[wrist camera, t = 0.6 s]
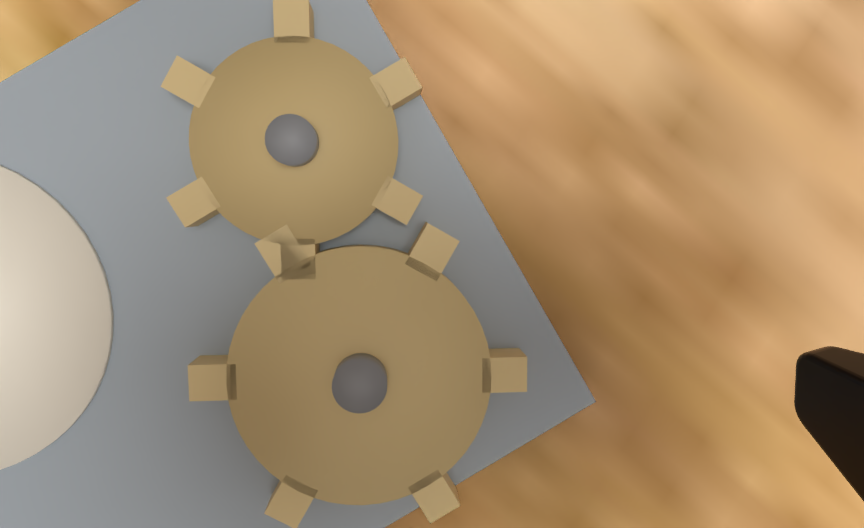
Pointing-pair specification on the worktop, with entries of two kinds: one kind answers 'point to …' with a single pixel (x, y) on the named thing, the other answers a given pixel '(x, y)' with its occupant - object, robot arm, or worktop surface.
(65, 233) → the pad
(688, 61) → the worktop surface
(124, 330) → the gear board
